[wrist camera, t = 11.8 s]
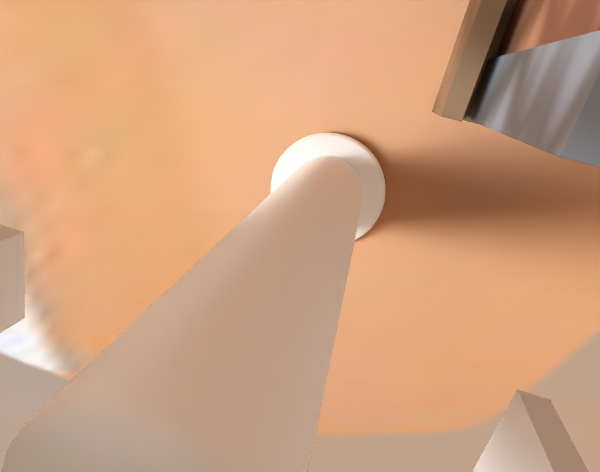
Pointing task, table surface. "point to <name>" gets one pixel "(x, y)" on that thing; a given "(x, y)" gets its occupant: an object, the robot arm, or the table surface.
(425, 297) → the table surface
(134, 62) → the table surface
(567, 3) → the rack
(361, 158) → the white round flared column
